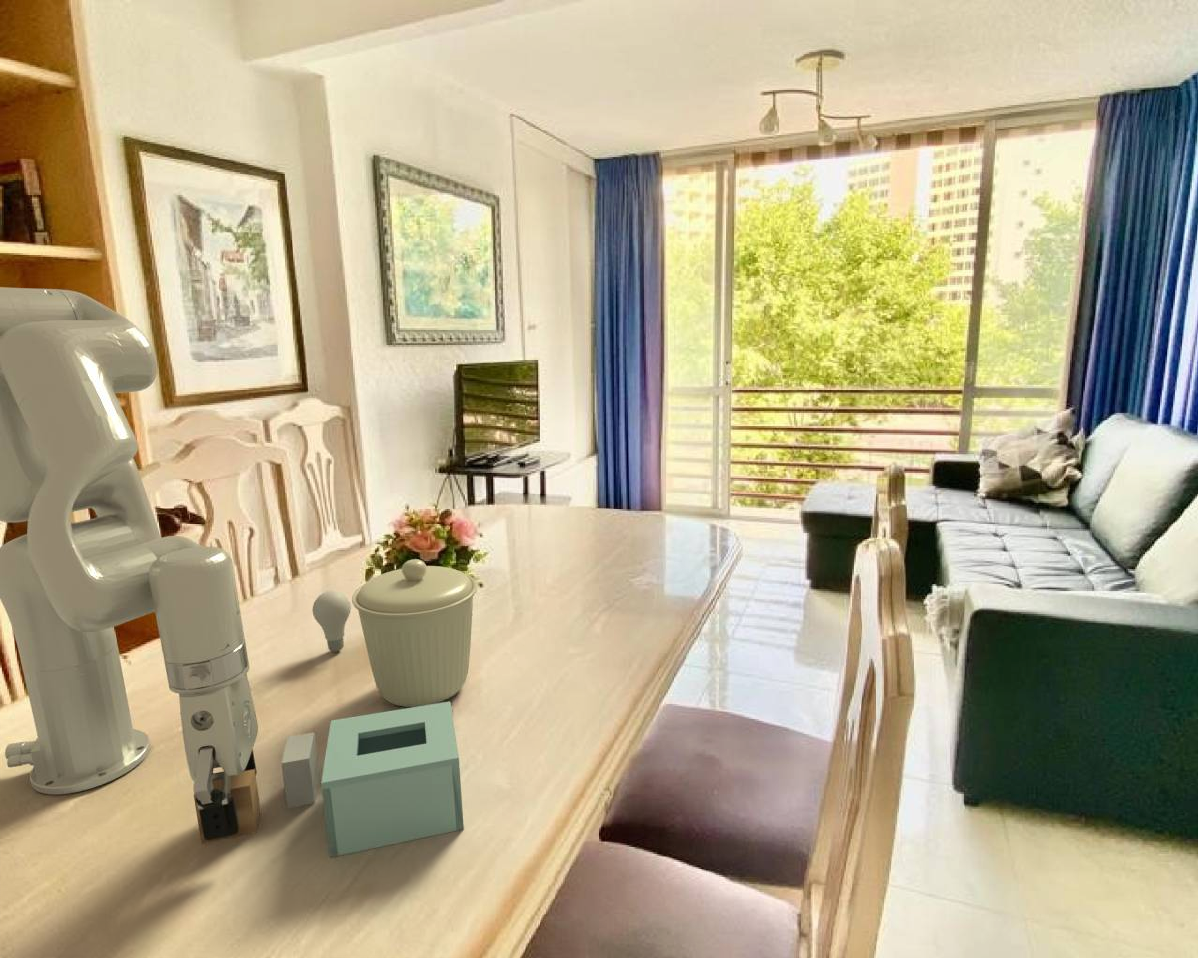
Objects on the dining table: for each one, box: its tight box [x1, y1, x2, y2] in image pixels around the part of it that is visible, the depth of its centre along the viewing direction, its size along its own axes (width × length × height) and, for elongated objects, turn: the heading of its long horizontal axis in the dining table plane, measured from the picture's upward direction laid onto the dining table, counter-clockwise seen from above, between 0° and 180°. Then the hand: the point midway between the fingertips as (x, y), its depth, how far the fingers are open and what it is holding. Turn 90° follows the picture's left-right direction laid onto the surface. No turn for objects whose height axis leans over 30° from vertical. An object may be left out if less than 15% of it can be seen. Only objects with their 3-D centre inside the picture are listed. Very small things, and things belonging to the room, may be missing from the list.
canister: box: [351, 558, 478, 708], centre depth 104 cm, size 18×18×21 cm
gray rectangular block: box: [280, 732, 320, 809], centre depth 83 cm, size 6×3×6 cm, turn 16°
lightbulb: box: [312, 590, 352, 653], centre depth 118 cm, size 6×6×11 cm
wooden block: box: [193, 769, 262, 844], centre depth 77 cm, size 6×3×6 cm, turn 106°
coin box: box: [320, 701, 465, 858], centre depth 80 cm, size 14×12×9 cm
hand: (232, 805), depth 77 cm, fingers open, 9 cm apart
